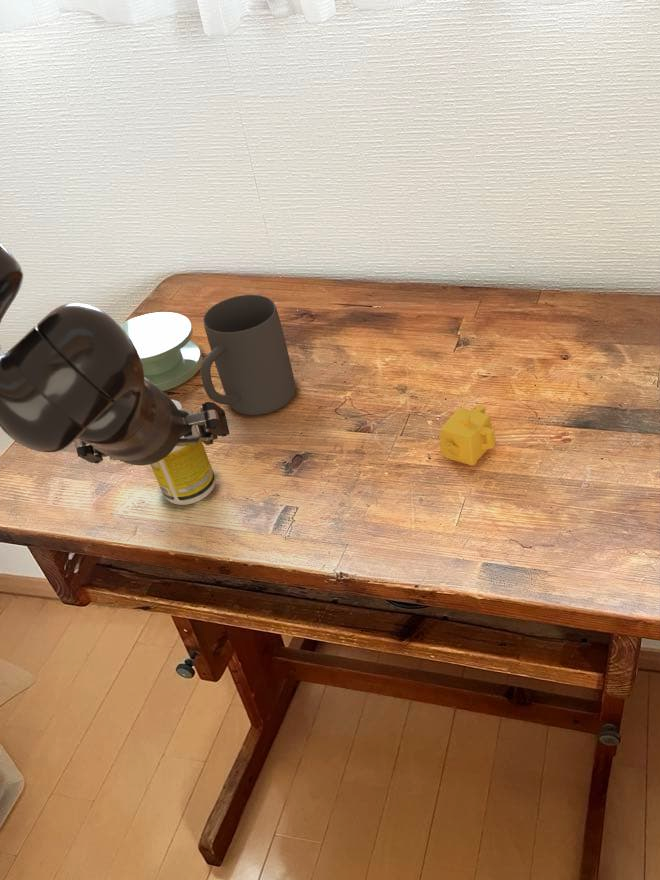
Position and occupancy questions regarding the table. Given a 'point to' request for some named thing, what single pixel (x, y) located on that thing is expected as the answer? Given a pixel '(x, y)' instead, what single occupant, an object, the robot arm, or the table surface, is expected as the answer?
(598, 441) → the table surface
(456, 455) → the yellow snap cube
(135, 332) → the stand
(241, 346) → the mug
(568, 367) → the table surface
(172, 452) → the pill bottle
